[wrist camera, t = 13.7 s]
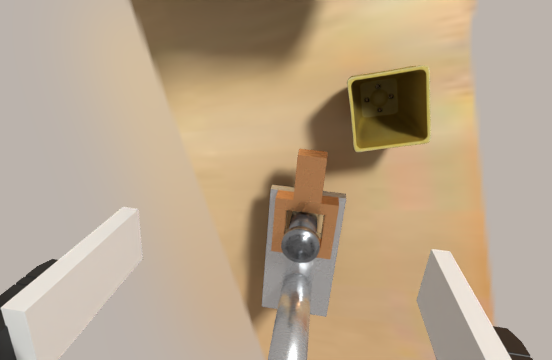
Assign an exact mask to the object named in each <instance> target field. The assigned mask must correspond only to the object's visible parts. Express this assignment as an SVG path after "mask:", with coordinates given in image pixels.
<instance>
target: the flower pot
mask: <svg viewBox="0 0 552 360" xmlns="http://www.w3.org/2000/svg"><path fill="white" fill-rule="evenodd" d="M377 84H380V88H376V85H377ZM347 86H348V94H349V102H350V111H351V121H352V133H353V147H354V150H355V152H364V151H371V150H378V149H386V148H394V147H402V146H411V145H418V144H425V143H429V142H430V139H431V120H430V71H429V67H428V66H427V65H422V66H410V67H405V68H400V69H394V70H388V71H382V72H376V73H369V74H363V75H356V76H352V77H350V78H349V79H348V81H347ZM390 94H393V98H389V95H390ZM366 98H369V101H368V102H365V99H366ZM378 108H381V109H382V111H381V112H378Z"/></svg>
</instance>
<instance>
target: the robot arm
mask: <svg viewBox="0 0 552 360" xmlns="http://www.w3.org/2000/svg"><path fill="white" fill-rule="evenodd" d="M142 258H143V257H142V245H141V233H140V222H139V210H138V209H134V208H127V207H122V208H121V209H120V210H118V211H117V212H116V213H115V214H114V215H112V216H111V217H110V218H109V219H108V220H106V221H105V222H104V223H103V224H102V225H100V226H99V227H98V228H97V229H96V230H94V231H93V232H92V233H91V234H89V235H88V236H87V237H86V238H85V239H83V240H82V241H81V242H80V243H78V244H77V245H76V246H75V247H74V248H72V249H71V250H70V251H69V252H68V253H67V254H65V255H64V256H63V257H61V258H60V259H59V260H55V259H52V260H49V261H47V262H45V263H43V264H41V265H39V266H37V267H36V268H35V269H33V270H32V271H31V272H29V273H28V274H27V275H26V277H23V278H22V279H21V280H19V281H18V282H17V283H16V285H13V286H12V287H10V288H9V289H8V290H7V291H5V292H4V293H3V294H1V295H0V360H58V359H59V358H60V357H61V356H62V354H63V353H64V352H65V351H66V350H67V349H68V347H69V346H70V345H71V344H72V343H73V341H74V340H75V339H76V338H77V337H78V335H79V334H80V333H81V332H82V331H83V329H84V328H85V327H86V326H87V325H88V323H89V322H90V321H91V320H92V319H93V318H94V316H95V315H96V314H97V313H98V312H99V310H100V309H101V308H102V307H103V306H104V304H105V303H106V302H107V301H108V300H109V298H110V297H111V296H112V295H113V294H114V292H115V291H116V290H117V289H118V288H119V286H120V285H121V284H122V283H123V282H124V281H125V279H126V278H127V277H128V276H129V275H130V273H131V272H132V271H133V270H134V269H135V267H136V266H137V265H138V264H139V263H140V261H141V260H142ZM417 303H418V306H419V309H420V312H421V315H422V318H423V321H424V324H425V327H426V330H427V333H428V336H429V338H430V341H431V344H432V347H433V350H434V353H435V356H436V359H437V360H533V359H532V358H530V354H529V353H528V351H527V350H526V348H525V346H524V345H523V343H522V342H521V341H520V340H519V339H518V338H517V337H516V336H515V335H514V334H513V333H512V332H511V331H509V330H508V329H507V328H500V327H494V326H492V324H491V323H490V321H489V319H488V317H487V315H486V314H485V312H484V310H483V308H482V307H481V305H480V303H479V301H478V300H477V298H476V296H475V294H474V293H473V291H472V289H471V287H470V286H469V284H468V282H467V280H466V279H465V277H464V275H463V273H462V272H461V270H460V268H459V266H458V265H457V263H456V261H455V259H454V258H453V256H452V254H451V252H450V251H442V250H435V249H431V252H430V255H429V259H428V262H427V266H426V269H425V273H424V276H423V280H422V283H421V286H420V290H419V293H418V297H417Z"/></svg>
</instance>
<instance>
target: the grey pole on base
mask: <svg viewBox="0 0 552 360" xmlns="http://www.w3.org/2000/svg"><path fill="white" fill-rule="evenodd" d="M326 164H327V152H324V151H315V150H306V149H299V153H298V159H297V169H296V178H295V187H287V186H279V185H272V187H271V192H270V205H269V218H268V231H267V244H266V257H265V270H264V283H263V296H262V307H269V308H275V309H277V314H276V319H275V324H274V330H273V335H272V340H271V346H270V351H269V356H268V360H307V352H308V336H309V321H310V314H313V315H319V316H325V317H326V315H327V309H328V303H329V298H330V292H331V286H332V280H333V274H334V268H335V262H336V256H337V250H338V244H339V238H340V233H341V227H342V221H343V215H344V209H345V203H346V194H343V193H335V192H327V191H323V186H324V178H325V171H326ZM288 210H291V211H299V212H307V213H314V214H322V215H324V216H323V223H322V230H321V233H318V232H317V233H316V234H317V235H318V237H319V240H320V250H319V253H318V255H317V257H316V258H315V259H314V260H312V261H310V262H307V263H296V262H293V261H291V260H289V259H288V258H287V257H286V256H285V255H284V254H283V252H282V249H281V243H282V238H283V236H284V234H285V232H286V231H287V230H289V229H288V228H286V226H287V216H288Z"/></svg>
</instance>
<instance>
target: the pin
mask: <svg viewBox="0 0 552 360" xmlns="http://www.w3.org/2000/svg"><path fill="white" fill-rule="evenodd" d="M317 218H318V214H314V213H307V212H299V211H293V212H292V216H291V221H290V225H289V230H287V231H286V232H285V234H284V236H283V238H282V243H281V249H282V252H283V254H284V255H285V256H286V257H287V258H288V259H289V260H291V261H293V262H296V263H307V262H310V261H312V260H314V259H315V258H316V257H317V255H318V253H319V250H320V240H319V237H318V235H317V234H316V233H317Z"/></svg>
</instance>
